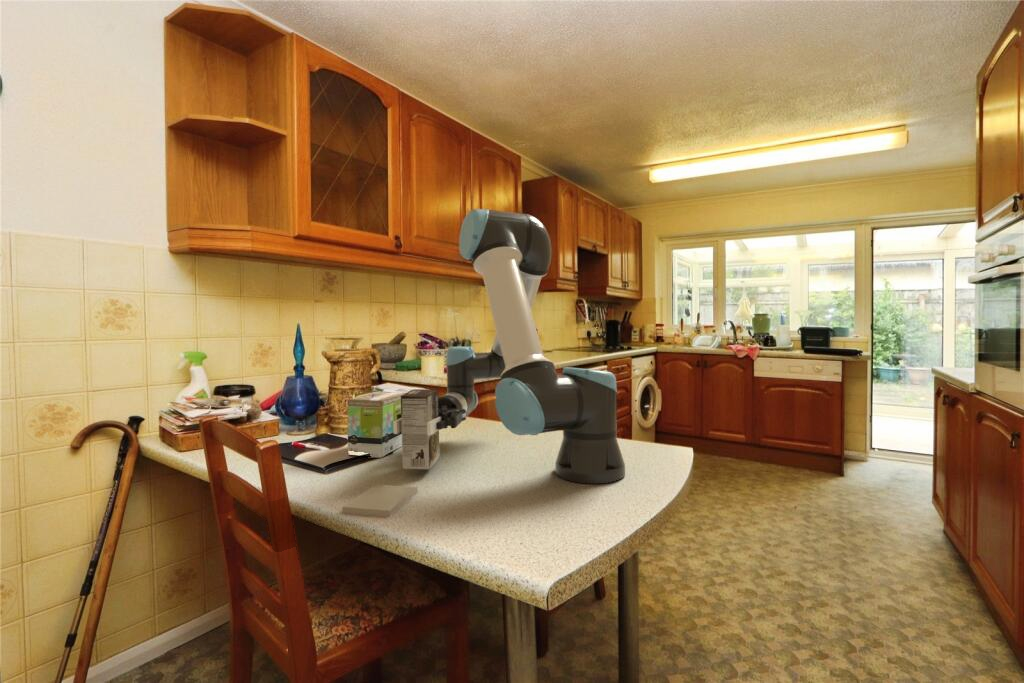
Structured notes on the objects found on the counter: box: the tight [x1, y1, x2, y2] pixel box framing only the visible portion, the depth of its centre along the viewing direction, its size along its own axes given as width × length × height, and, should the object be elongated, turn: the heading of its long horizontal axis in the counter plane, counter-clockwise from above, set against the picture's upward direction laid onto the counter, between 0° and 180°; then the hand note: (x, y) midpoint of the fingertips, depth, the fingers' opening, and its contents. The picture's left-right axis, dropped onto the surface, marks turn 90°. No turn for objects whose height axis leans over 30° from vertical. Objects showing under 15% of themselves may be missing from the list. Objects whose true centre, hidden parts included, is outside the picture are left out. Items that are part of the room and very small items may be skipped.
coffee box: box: [401, 388, 441, 470], centre depth 109 cm, size 9×6×16 cm
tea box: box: [347, 391, 406, 459], centre depth 129 cm, size 15×10×15 cm, turn 168°
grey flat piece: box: [342, 484, 419, 518], centre depth 91 cm, size 9×2×12 cm
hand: (411, 428), depth 104 cm, fingers closed on coffee box, 7 cm apart
